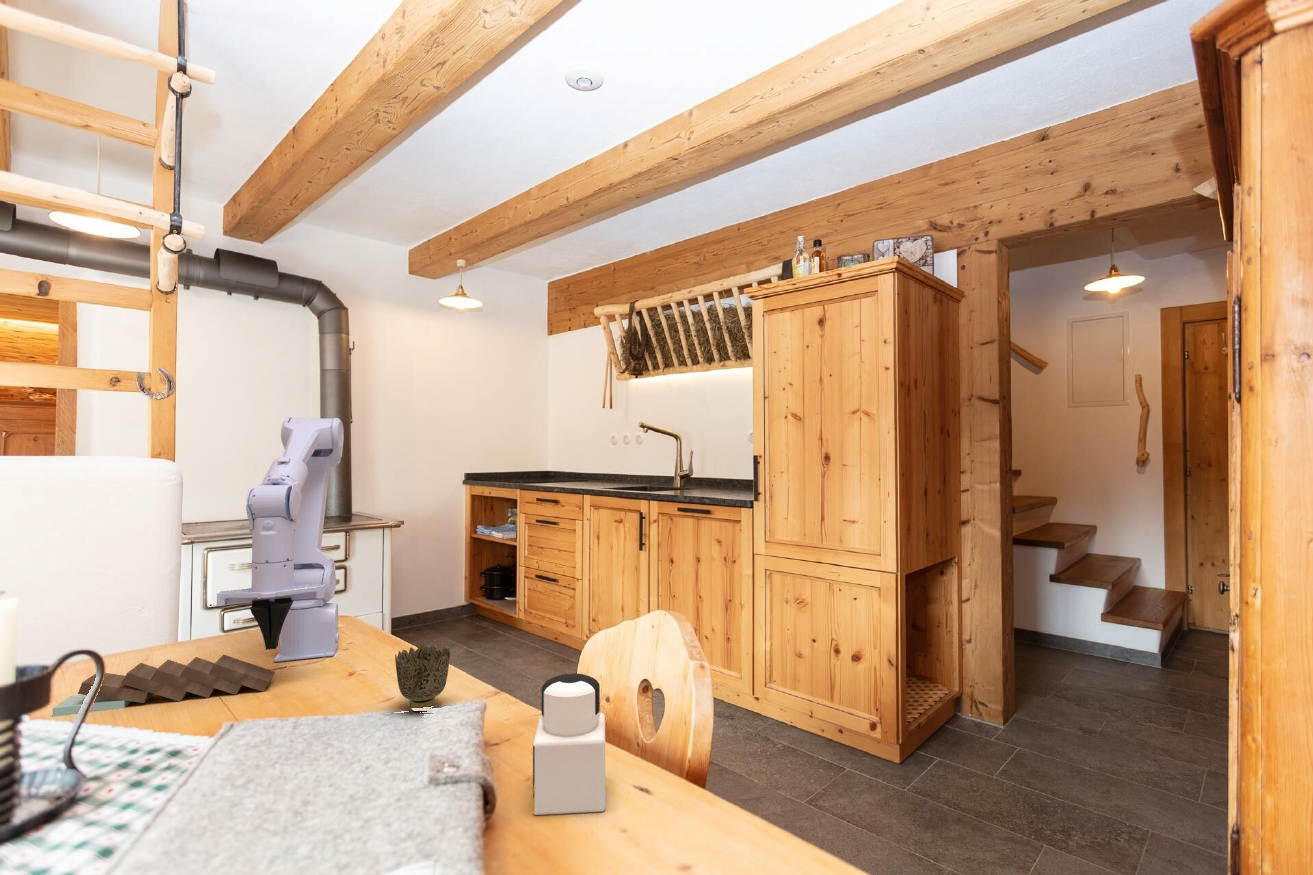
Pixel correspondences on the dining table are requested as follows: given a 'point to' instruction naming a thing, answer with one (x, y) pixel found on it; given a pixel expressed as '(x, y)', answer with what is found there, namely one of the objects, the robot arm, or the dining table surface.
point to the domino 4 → (179, 679)
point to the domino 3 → (151, 683)
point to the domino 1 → (100, 704)
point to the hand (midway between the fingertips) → (271, 647)
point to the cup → (422, 674)
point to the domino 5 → (208, 676)
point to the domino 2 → (115, 689)
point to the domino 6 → (242, 673)
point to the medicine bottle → (569, 748)
